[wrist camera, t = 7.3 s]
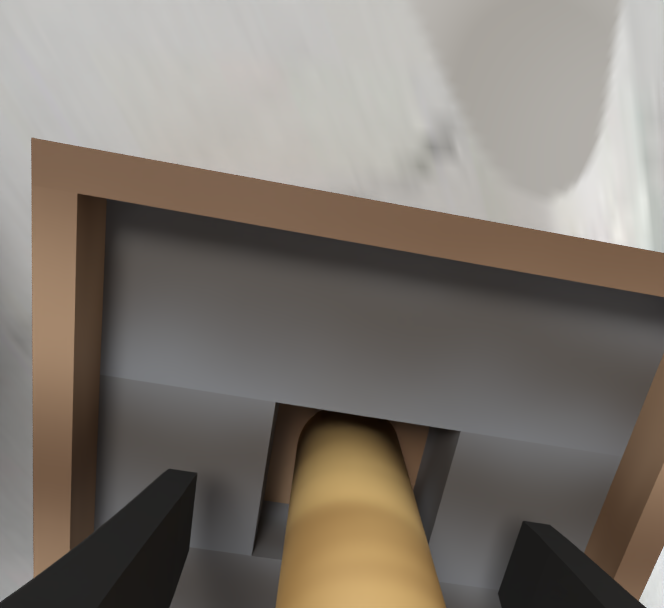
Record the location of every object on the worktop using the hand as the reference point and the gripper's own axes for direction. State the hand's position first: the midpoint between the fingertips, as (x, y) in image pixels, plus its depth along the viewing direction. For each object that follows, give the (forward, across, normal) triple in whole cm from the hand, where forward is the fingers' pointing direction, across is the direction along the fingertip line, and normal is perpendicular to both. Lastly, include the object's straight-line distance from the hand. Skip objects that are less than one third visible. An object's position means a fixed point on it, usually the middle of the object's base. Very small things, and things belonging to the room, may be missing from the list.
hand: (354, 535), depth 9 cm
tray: (+4, 0, 0) cm, 4 cm away
